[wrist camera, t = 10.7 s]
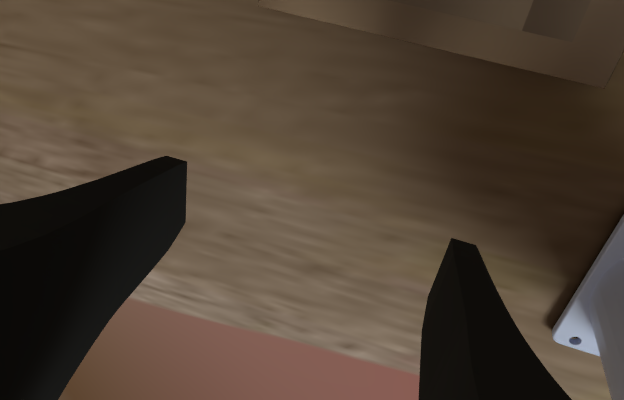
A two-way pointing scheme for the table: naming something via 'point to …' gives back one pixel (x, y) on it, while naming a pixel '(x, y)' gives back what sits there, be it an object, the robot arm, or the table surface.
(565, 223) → the table surface
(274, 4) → the socket block
